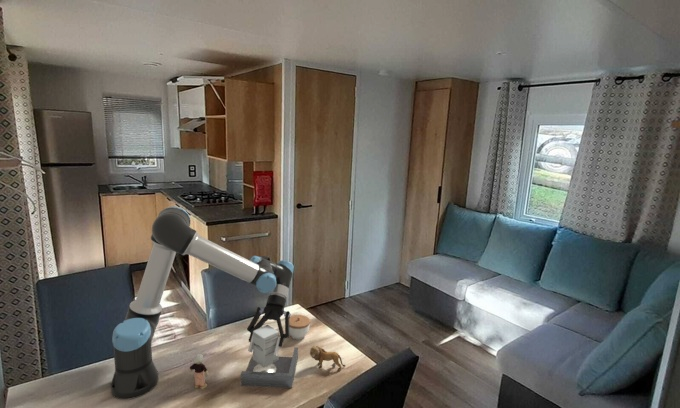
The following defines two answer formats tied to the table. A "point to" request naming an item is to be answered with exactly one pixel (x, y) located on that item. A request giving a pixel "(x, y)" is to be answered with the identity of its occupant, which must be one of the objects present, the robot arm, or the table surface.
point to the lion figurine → (325, 356)
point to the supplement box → (265, 345)
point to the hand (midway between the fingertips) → (262, 353)
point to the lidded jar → (299, 326)
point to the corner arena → (271, 373)
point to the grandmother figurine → (199, 371)
